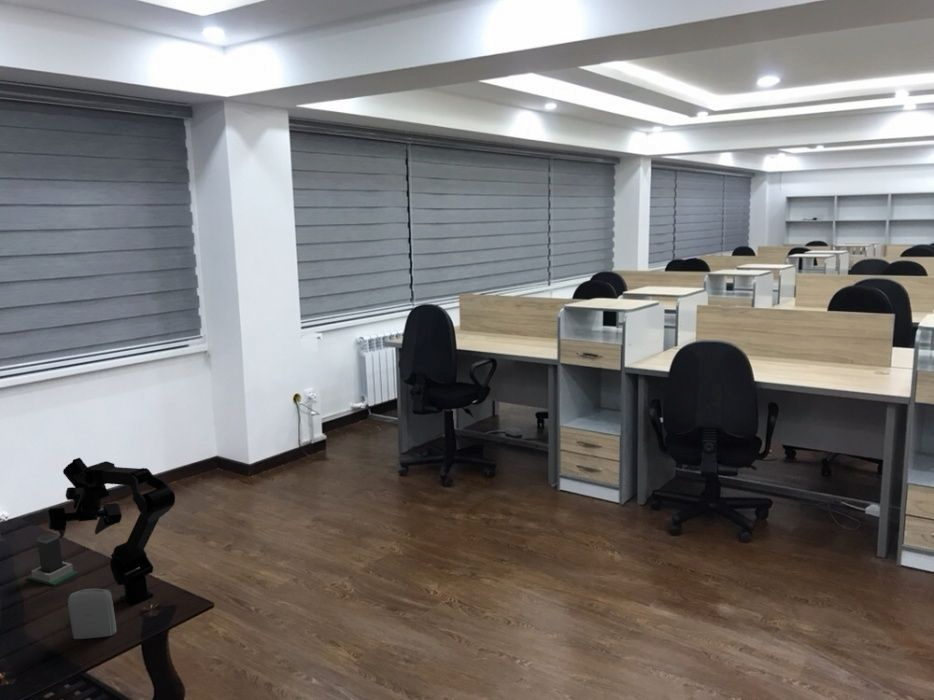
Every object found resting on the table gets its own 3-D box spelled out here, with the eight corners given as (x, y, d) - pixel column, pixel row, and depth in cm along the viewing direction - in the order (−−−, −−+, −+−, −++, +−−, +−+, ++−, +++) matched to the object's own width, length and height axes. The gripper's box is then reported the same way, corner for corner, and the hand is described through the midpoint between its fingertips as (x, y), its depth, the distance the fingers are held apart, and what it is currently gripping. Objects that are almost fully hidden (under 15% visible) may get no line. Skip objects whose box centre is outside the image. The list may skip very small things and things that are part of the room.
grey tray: (79, 573, 221) (78, 564, 220) (54, 586, 214) (53, 577, 213) (51, 566, 226) (50, 558, 225) (27, 578, 218) (25, 569, 218)
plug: (63, 572, 220) (58, 534, 218) (51, 578, 217) (45, 540, 215) (54, 569, 222) (48, 532, 220) (41, 576, 219) (35, 538, 216)
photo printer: (70, 641, 185) (63, 595, 183) (77, 631, 190) (71, 587, 187) (113, 637, 186) (107, 592, 184) (119, 628, 191) (113, 584, 188)
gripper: (119, 475, 220) (107, 510, 227) (49, 479, 208) (38, 517, 215) (127, 503, 213) (114, 539, 220) (55, 509, 201) (44, 547, 208)
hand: (78, 534), depth 216 cm, fingers open, 9 cm apart
